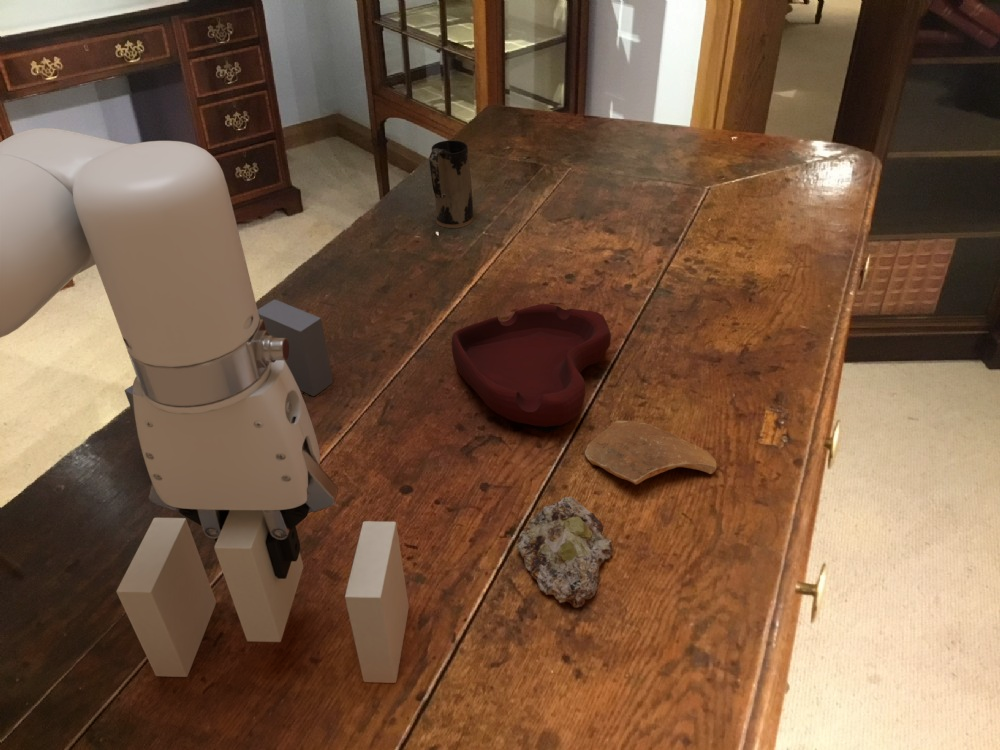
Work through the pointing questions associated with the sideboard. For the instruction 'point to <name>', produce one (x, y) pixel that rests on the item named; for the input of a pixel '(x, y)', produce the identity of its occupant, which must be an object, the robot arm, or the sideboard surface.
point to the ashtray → (532, 362)
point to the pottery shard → (644, 452)
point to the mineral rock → (565, 551)
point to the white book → (255, 576)
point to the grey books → (294, 346)
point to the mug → (451, 183)
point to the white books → (190, 601)
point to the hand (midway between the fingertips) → (264, 561)
